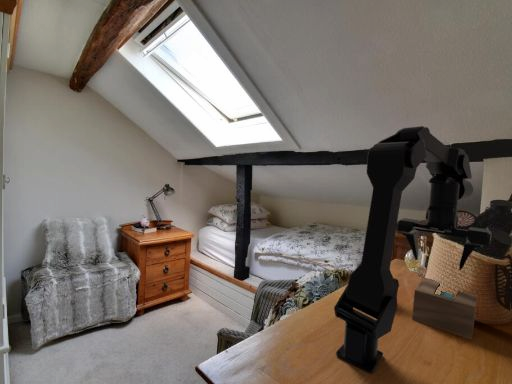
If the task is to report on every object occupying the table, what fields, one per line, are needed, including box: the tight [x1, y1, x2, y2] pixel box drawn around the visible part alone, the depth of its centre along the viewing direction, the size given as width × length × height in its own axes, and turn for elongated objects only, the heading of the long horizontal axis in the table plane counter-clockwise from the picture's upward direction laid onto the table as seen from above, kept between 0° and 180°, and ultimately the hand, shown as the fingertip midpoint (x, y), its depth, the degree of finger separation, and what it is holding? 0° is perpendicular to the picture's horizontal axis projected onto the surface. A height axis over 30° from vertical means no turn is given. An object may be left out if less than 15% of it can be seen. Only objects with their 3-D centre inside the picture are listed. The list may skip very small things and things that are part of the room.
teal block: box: [440, 291, 454, 299], centre depth 64 cm, size 6×2×5 cm, turn 141°
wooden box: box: [411, 277, 478, 341], centre depth 64 cm, size 11×11×7 cm
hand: (437, 264), depth 68 cm, fingers open, 9 cm apart
